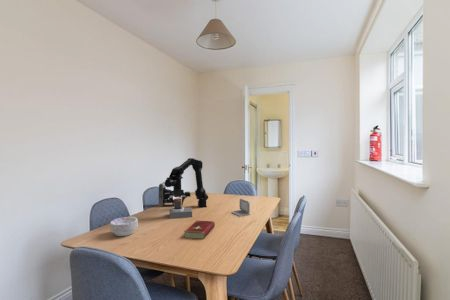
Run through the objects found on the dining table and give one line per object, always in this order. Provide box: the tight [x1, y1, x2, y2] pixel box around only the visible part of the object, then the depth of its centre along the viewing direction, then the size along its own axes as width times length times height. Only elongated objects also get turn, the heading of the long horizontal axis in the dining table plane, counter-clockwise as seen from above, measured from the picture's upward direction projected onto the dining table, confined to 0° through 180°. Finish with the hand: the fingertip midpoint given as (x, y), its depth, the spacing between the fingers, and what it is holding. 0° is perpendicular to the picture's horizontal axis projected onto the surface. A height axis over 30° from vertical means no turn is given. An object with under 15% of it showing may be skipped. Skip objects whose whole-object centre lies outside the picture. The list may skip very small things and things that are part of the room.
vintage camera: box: [158, 181, 174, 207], centre depth 217 cm, size 10×16×20 cm, turn 89°
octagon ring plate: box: [169, 206, 193, 220], centre depth 184 cm, size 16×12×6 cm
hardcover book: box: [183, 219, 216, 240], centre depth 149 cm, size 12×21×4 cm, turn 167°
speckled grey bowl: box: [109, 216, 139, 237], centre depth 148 cm, size 15×15×8 cm
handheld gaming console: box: [231, 198, 251, 217], centre depth 187 cm, size 13×9×10 cm
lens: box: [173, 198, 182, 209], centre depth 184 cm, size 5×5×8 cm
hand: (177, 206), depth 184 cm, fingers open, 6 cm apart
